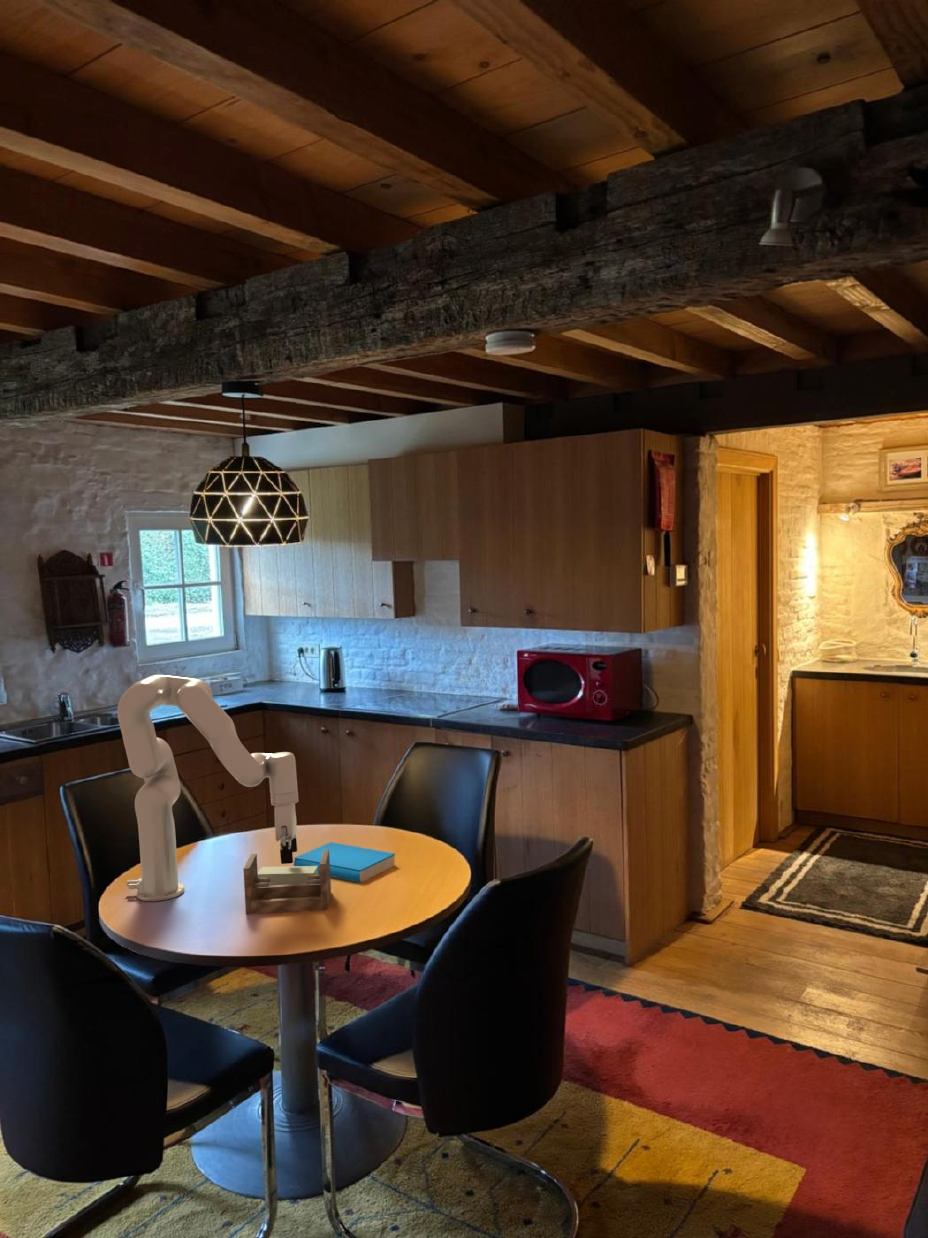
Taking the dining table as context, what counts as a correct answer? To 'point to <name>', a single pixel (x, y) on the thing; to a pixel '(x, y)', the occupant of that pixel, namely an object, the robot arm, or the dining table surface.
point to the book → (348, 861)
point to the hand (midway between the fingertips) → (289, 857)
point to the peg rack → (286, 890)
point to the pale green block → (287, 874)
